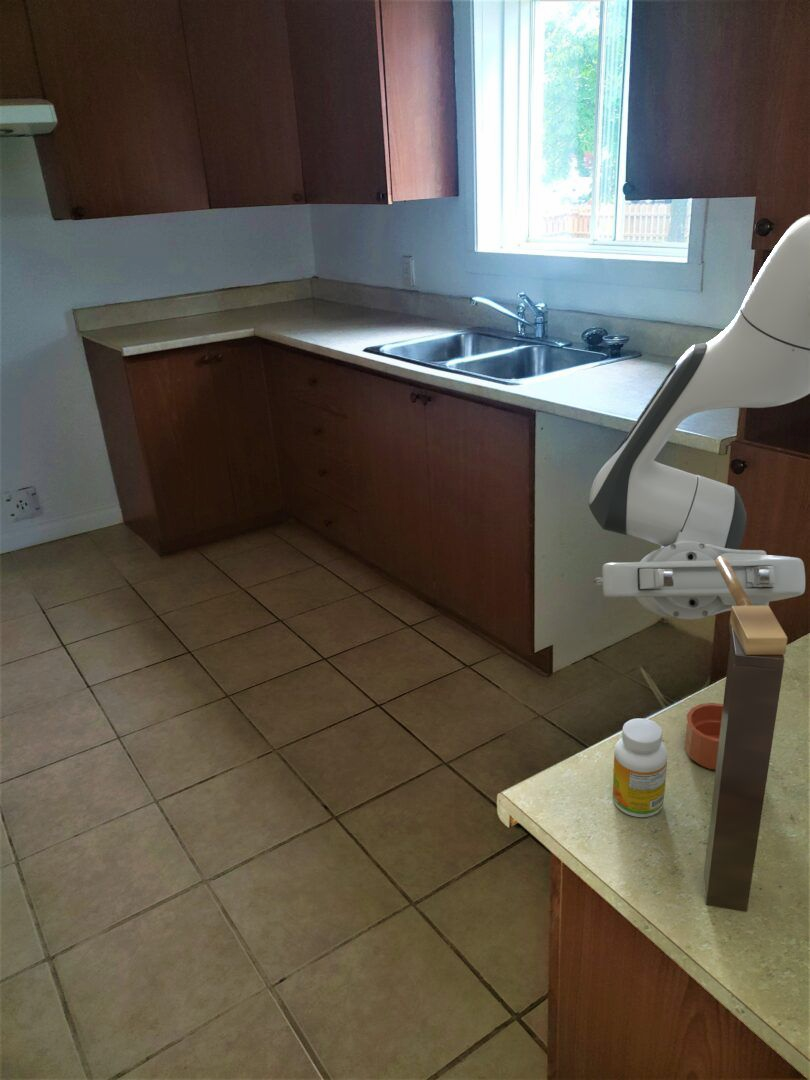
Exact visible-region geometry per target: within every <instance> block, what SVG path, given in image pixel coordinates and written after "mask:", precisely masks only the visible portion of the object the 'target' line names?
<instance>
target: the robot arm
mask: <svg viewBox="0 0 810 1080" xmlns="http://www.w3.org/2000/svg"><path fill="white" fill-rule="evenodd" d="M746 293H747V294H746V295H745V298H744V300H743V301H742V303H741V306H740V308H739V310H738V312H737V314H736V315H735V317H734V318H733V320H732V321H731V322H730V323H729V325H727V326H726V327H725V329H723V330H722V331H721V332H720V333H719V334H717V335H716V336H715V337H713V338H712V339H710V340H709V341H707V342H702V343H697V344H692V346H690V347H689V348H688V349H687V350H686V351H685V352H684V353H683V354H682V355H681V356H680V358H678V360H677V361H676V362H675V364H674V365H673V367H672V368H671V369H670V370H669V372H668V373H667V375H666V376H665V377H664V378H663V380H662V382H661V384H659V386H658V388H657V389H656V391H655V392H654V394H653V395H652V396H651V399H650V400H649V401H648V403H647V404H646V406H645V407H644V409H643V410H642V412H641V413H640V415H639V417H638V418H637V420H636V421H635V423H634V424H633V426H632V427H631V429H630V430H629V431H628V433H627V435H626V436H625V438H624V439H623V441H621V443H620V445H618V447H617V448H616V450H614V452H613V454H612V455H611V457H610V458H609V459H608V460H607V461H606V462H605V463H604V465H603V466H602V467H601V468H600V469H599V471H598V472H597V474H596V476H595V478H594V480H593V483H592V485H591V487H590V492H589V496H588V497H589V501H588V507H589V510H590V512H591V514H592V516H593V518H594V519H595V520H596V522H597V523H598V525H599V526H600V528H601V529H602V530H605V531H608V532H612V533H616V534H620V535H625V536H628V535H629V536H632V537H635V538H638V539H640V540H642V541H643V540H644V541H646V542H649V543H652V544H655V545H658V546H661V547H659V548H657V549H655V550H653V551H651V552H650V553H647V555H645V556H644V557H643V558H642V559H640V561H627V562H626V561H623V562H622V561H621V562H619V561H617V562H607V563H604V564H603V565H602V567H601V575H602V577H595V578H594V580H593V582H594V585H595V586H602V595H603V596H604V597H605V598H613V599H614V598H618V599H619V598H635V599H636V601H637V602H638V603H639V604H640V605H641V606H642V607H643V608H644V609H646V610H647V611H648V612H650V613H651V614H654V615H656V616H659V617H661V618H662V617H663V618H669V619H676V620H677V619H678V620H691V621H692V620H698V619H702V618H705V617H712V616H715V615H718V614H719V615H720V614H721V613H725V612H731V607H732V606H737V604H736V602H735V601H734V599H733V597H732V595H731V593H730V591H729V589H728V587H727V585H726V583H725V581H724V579H723V577H722V575H721V573H720V571H719V570H718V568H717V566H716V564H715V560H716V558H717V557H719V556H724V557H726V558H727V560H728V562H729V564H730V566H731V567H732V569H733V571H734V573H735V575H736V576H737V578H738V580H739V582H740V584H741V586H742V587H743V589H744V591H745V593H746V595H747V596H748V598H749V600H750V602H751V604H752V606H770V602H777V601H782V600H786V599H791V598H796V597H799V596H801V595H803V594H804V593H805V591H806V570H805V569H806V568H805V563H804V561H803V559H801V558H800V557H795V556H786V555H785V556H784V555H772V554H767V552H766V551H765V550H762V549H757V550H756V549H747V548H746V549H745V548H744V549H743V548H741V546H742V542H743V540H744V536H745V534H746V533H745V532H746V528H747V520H748V519H747V518H748V517H747V511H746V508H745V504H744V502H743V500H742V496H740V493H739V492H738V490H737V489H736V488H735V487H734V486H733V485H732V486H731V485H730V484H727V483H724V482H721V481H718V480H715V479H712V478H708V477H706V476H703V475H699V474H694V473H691V472H687V471H686V470H682V469H679V468H676V467H673V466H669V465H666V464H663V463H660V462H658V461H656V460H655V459H656V458H657V456H658V455H659V453H660V452H661V450H662V449H663V448H664V447H665V445H666V443H668V441H669V439H670V438H671V437H672V436H673V434H674V432H675V431H676V430H677V428H678V427H679V426H680V424H681V423H682V422H683V421H684V420H685V419H687V418H690V417H691V416H693V415H695V414H698V413H702V412H706V411H714V410H722V409H737V408H738V409H740V408H741V409H745V408H747V409H749V408H750V409H762V408H763V409H764V408H772V407H778V406H782V405H787V404H790V403H793V402H796V401H797V400H800V399H802V398H804V397H806V396H808V395H810V213H809V214H806V215H804V216H802V217H800V218H798V219H797V220H795V222H793V223H792V224H791V225H790V226H789V227H788V228H787V229H786V231H785V233H784V234H783V235H782V237H781V238H780V239H779V241H778V242H777V244H776V245H775V246H774V248H773V249H772V251H771V253H769V256H768V257H767V258H766V260H765V262H763V265H762V266H761V268H760V270H759V272H758V273H757V274H756V276H755V278H754V279H753V282H752V284H751V286H750V287H749V289H748V292H746Z"/></svg>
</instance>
